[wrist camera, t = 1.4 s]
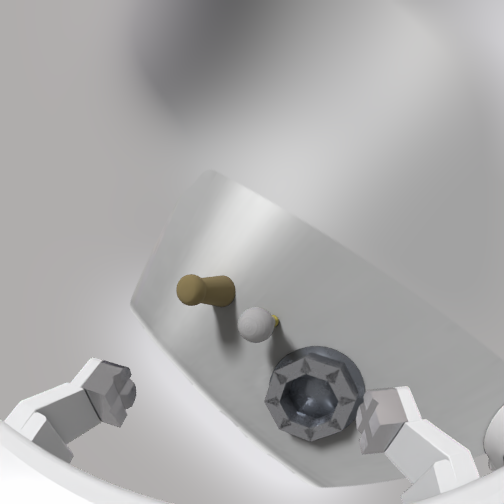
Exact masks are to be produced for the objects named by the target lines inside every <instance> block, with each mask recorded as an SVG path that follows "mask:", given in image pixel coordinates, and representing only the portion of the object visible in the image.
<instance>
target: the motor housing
mask: <svg viewBox="0 0 504 504" xmlns="http://www.w3.org/2000/svg"><path fill="white" fill-rule="evenodd" d="M364 394H365V386H364V381H363V377H362V375H361V373H360V371H359V369H358V368H357V366H356V365H355V364H354V362H353V361H352V360H350V359H349V358H348V357H347V356H346V355H344V354H343V353H341V352H339V351H337V350H334V349H332V348H327V347H321V346H311V347H305V348H301V349H298V350H296V351H294V352H292V353H290V354H289V355H287V356H286V357H284V358H283V359H282V360H281V361H280V362H279V363H278V365H277V366H276V368H275V369H274V371H273V373H272V376H271V379H270V384H269V388H268V392H267V395H266V398H265V403H266V405H267V407H268V409H269V411H270V413H271V415H272V417H273V419H274V420H275V422H276V424H277V426H278V428H279V429H280V430H282V431H285V432H287V433H290V434H292V435H295V436H297V437H300V438H302V439H305V440H307V441H310V442H311V441H314V440H317V439H320V438H323V437H326V436H329V435H332V434H335V433H337V432H340V431H342V430H343V429H344V428H346V427H347V426H348V425H349V424H351V423H352V422H353V421H354V420H355V418H356V416H357V411H358V408H359V406H360V405H361V404H362V403H363V402H364V399H363V396H364Z"/></svg>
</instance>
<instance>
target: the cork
mask: <svg viewBox="0 0 504 504" xmlns="http://www.w3.org/2000/svg"><path fill="white" fill-rule="evenodd" d="M177 296H178V298H179V299H180V301H181V302H182V303H184V304H186V305H189V306H193V305H197V304H199V303H203V304H209V305H214V306H220V307H225V306H227V305H229V304H230V303H231V302H232V301H233V299H234V297H235V286H234V283H233V282H232V280H231V279H230V278H228V277H227V276H215V277H207V278H200V277H199V276H196V275H192V274H191V275H186V276H184V277H182V278H181V279H180V281H179V282H178V284H177Z"/></svg>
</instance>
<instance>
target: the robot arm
mask: <svg viewBox="0 0 504 504" xmlns="http://www.w3.org/2000/svg"><path fill="white" fill-rule="evenodd" d="M130 377H131V372H130V369H129V368H128V367H125V366H121V365H118V364H114V363H111V362H108V361H105V360H101V359H98V358H95V357H93V358H91V359H90V360H89V361H88V362H87V363H86V364H85V366H84V367H83V368H82V369H81V371H80V372H79V373H78V374H77V375H76V377H75V378H74V379H73V381H72V382H71V383H65V384H62V385H60V386H57V387H55V388H52V389H50V390H47V391H45V392H42V393H40V394H37V395H35V396H32V397H30V398H27V399H24V400H22V401H20V402H19V404H18V405H17V406H16V407H15V408H14V410H13V411H12V412H11V413H10V415H9V416H8V417H7V418H6V420H5V421H2V420H1V419H0V504H174V503H170V502H166V501H162V500H158V499H155V498H152V497H148V496H146V495H143V494H140V493H136V492H134V491H130V490H128V489H125V488H122V487H120V486H117V485H115V484H112V483H110V482H107V481H105V480H103V479H100V478H98V477H96V476H94V475H91V474H89V473H87V472H85V471H83V470H81V469H79V468H77V467H75V466H73V465H71V464H70V462H71V460H72V458H73V453H72V452H71V450H70V449H69V448H68V447H67V445H66V444H68V443H69V442H71V441H73V440H74V439H76V438H77V437H79V436H81V435H82V434H84V433H85V432H87V431H89V430H90V429H91V428H93V427H95V426H96V425H98V424H99V423H101V421H102V422H105V423H107V424H111V425H114V426H117V427H121V425H122V424H123V422H124V420H125V418H126V416H127V413H126V409H128V408H130V407H132V405H133V403H134V401H135V397H136V387H135V384H134V382H132V380H131V379H130ZM363 399H364V402H363V403H362V404H361V405H360V406H359V408H358V411H357V416H356V425H357V430H358V431H359V432H360V433H361V434H362V435H361V437H360V439H359V442H360V447H361V453H362V454H373V453H382V452H385V453H384V454H385V455H386V456H387V457H388V458H389V459H390V460H391V462H392V463H393V464H394V465H395V466H396V467H397V468H398V469H399V470H400V471H401V472H402V473H403V475H404V476H405V477H406V478H407V479H408V480H409V481H410V482H411V483H412V484H413V485H412V486H411V487H409V488H408V489H407V490H406V491H405V492H404V493H403V494H402V495H401V499H402V504H504V405H503V406H502V407H501V409H500V410H499V411H498V412H497V413H496V415H495V416H494V418H493V419H492V421H491V423H490V425H489V427H488V429H487V431H486V434H485V438H484V449H485V452H486V454H487V455H488V457H489V468H490V469H491V470H495V471H493V472H491V473H489V474H487V475H485V476H483V477H481V478H480V477H479V474H478V471H477V468H476V466H475V463H474V461H473V458H472V455H471V453H470V450H468V449H467V448H465V447H464V446H462V445H461V444H460V443H458V442H457V441H455V440H454V439H453V438H451V437H450V436H448V435H447V434H446V433H444V432H443V431H442V430H440V429H439V428H437V427H436V426H435V425H433V424H432V423H431V422H429V421H428V420H426V419H423V420H422V418H421V415H420V413H419V410H418V408H417V405H416V403H415V400H414V398H413V396H412V393H411V391H410V389H409V387H407V386H404V387H395V388H383V389H370V390H367V391H366V392H365V394H364V396H363Z"/></svg>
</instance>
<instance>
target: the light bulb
mask: <svg viewBox="0 0 504 504" xmlns="http://www.w3.org/2000/svg"><path fill="white" fill-rule="evenodd" d="M278 322H279V320H278V318H277V317H276V316H275V315H271V314H270V313H269V312H268V311H267V310H265V309H263V308H260V307H253V308H249V309H247V310H245V311H244V312H243V313H242V314H241V316H240V318H239V320H238V330H239V332H240V334H241V336H242V337H243V338H244V339H246V340H247V341H250V342H253V343H258V342H262V341H265V340H266V339H268V338H269V337H270V336H271V334H272V333H273V330H274V327H275V326H277V325H278Z"/></svg>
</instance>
